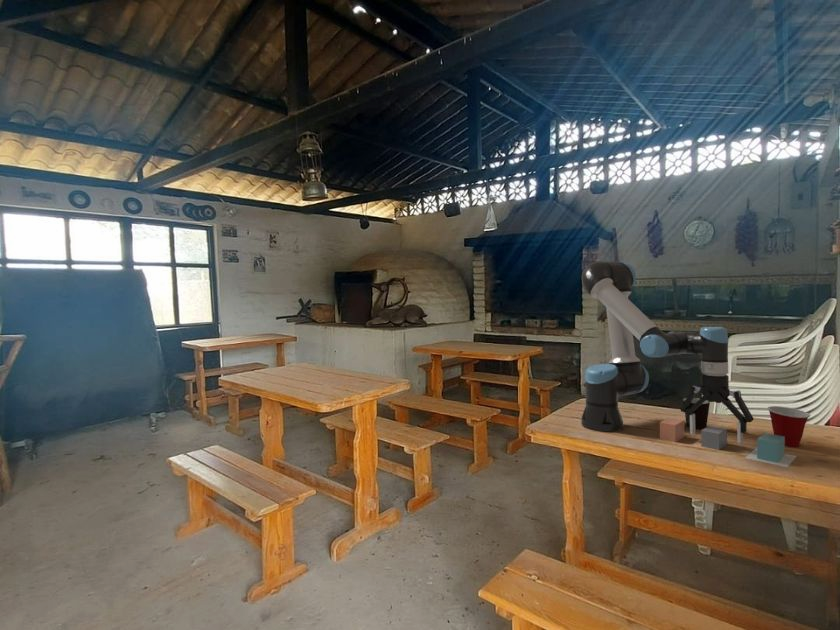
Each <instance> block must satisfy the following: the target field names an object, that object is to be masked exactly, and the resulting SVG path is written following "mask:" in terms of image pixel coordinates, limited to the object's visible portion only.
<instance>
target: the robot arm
mask: <svg viewBox="0 0 840 630" xmlns="http://www.w3.org/2000/svg"><path fill="white" fill-rule="evenodd" d="M636 274H637V273H636V271H635V269H634V267H633V266H632V265H631V264H629V263H627V262H624V261H621V260H620V261H617V260H616V261H615V260H614V261H594V262H591V263H589V264H588V265H586V266H585V268H584V269H583V270H582V274H581V282H582V286H583V288H584V289H585V291H586V292H587V294H589V296H591V298H593V299H597V300H598V301H600V303H601V304H602V305H604V307H605V309H606V318H607V325H608V332H609V333H608V334H609V340H610V341H609V342H610V350H611V357H612V358H611V359H610V360H609V361H608V363H600V364H593V365H591V366H589V367H587V368H586V369H585V376H584V381H585V385H584V386H585V387H584V388H585V406H584V409H583V411H582V415H581V421H580V422H581V423H580V424H581V425H582V427H583V428H586V429H589V430H594V431H598V432H599V431H600V432H615V431H620V430H622V429H623V428H624V420H623V417H622V414H621V412H620V410H619V409H620V408H619V397H623V396H629V395H637V394H638V393H642V392H643V391H644V390H645V389H646V388H647V387H648V385H649V381H650V375H649V372H648V370H647V369H646V367H645V366H644V365H642V364H641V359H640V358H639V357H637V356H636V350H635V349H636V348H635V343H634V337H635V338H636V339H637V340H638V341H639V347H640V349H641V352H642V354H643V355H645V356H646V357H647V358H663V357H667V356H668V357H669V356H675V355H676V356H677V355H682V354H683V355H685V354H687V355H688V354H690V355H700V370H701V371H700V372H701V374H700V379H701V380H700V385H701V386H700V387H699V386H697V385H692V386H690V389H689V394H688V396H687V397H686V398H687V399H686V400H685V402H684V403H683V404H682V405H681V408H680V412H683V413H684V414H685V413H686V414H687V423H689V424H690V428H689V434H690V435H694V434H695V433H696V429H695V414H692V413H693V412H694V411H695V410H696V409H697V408H698V407H699V406H700V405H701V404H702V403H704V402H705V401H706V400H707V401H709V402H710V403H716V404H721V403H722V404H723V406H725V407H726V408H727V409H728V410H729V411H730V413H732V415H734V417H735V418H736V419H737V420H738V422H737V423H736V425H737V429H736V430H737V431H736V437H737V439H736V440H737V444H742V443H743V442H744V434H745V433H746V432H747V428H748V427H747V423H752V422H753V421H754V420H755V418H754V417H753V415H752V414H751V411H750V409H749V408H748V406H747V404H746V403H745V401H744V400H743V398H742V392H741V390H740V389H739V390H732V391H731V390H730V387H729V385H730V384H729V383H730V381H729V380H730V378H729V375H728V374H730V373H729V337H728V336H729V335H728V330H727V328H725V327H724V326H723V327H722V326H702V327H701V328H700V330H699V332H693V331H682V330H676V331H675V330H674V331H673V330H672V331H669V332H667V333H665V332H664V331H662V330H661V329H660V328H659V327H658V326H657V324H655V323H654V322H653V321H652V320H651V319H650V318H649V317H648V316H647V315H646V314H645V313H643V312H642V310H640V308H638V307H637V306H636V305H635V304H634V303H633V302H632V301H631V300H630V299H629V296H630V295H631V294H632V288H633V287H634V286H635V283H636V280H637V275H636ZM699 392H700V394H701V395H702V396H701V397H700V398H699V400H698V401H697V402H696V403H695V404H694V405H693V406H692V407H691V408H690V409H687V408H688V407H689V405H690V403H691V402H692V400H693V398H695V397H696V394H699ZM729 396H732V398H733V399H734V400H735V402H736V405H737V406H738V407H739V409H740V410H739V409H738V408H737V406H735V405H734V404H733V403H732V401H731V399H730V398H729ZM740 411H741V412H740Z"/></svg>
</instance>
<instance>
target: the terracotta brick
mask: <svg viewBox="0 0 840 630" xmlns="http://www.w3.org/2000/svg"><path fill="white" fill-rule="evenodd" d="M684 437H685V420H684V419H679V418H673V417H667V418H665V419H664V420H663V419H662V420H661V421H660V422H659V439H660V440H665V441H668V442H669V441H670V442H674V443H677V442H678V441H680V440H681V439H683V438H684Z"/></svg>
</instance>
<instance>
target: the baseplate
mask: <svg viewBox="0 0 840 630" xmlns="http://www.w3.org/2000/svg"><path fill="white" fill-rule="evenodd" d="M796 457H797V456H796V455H791V454H787V453H784V457H783V458H782V459H781V460H780V461H779V462H778V463H776V462H771V461H767V460H762V459H758V458H757V447H756V448H755V449H753V450H752V452H750V453H749V454H748V455H747V456H745V459H748V460H751V461H752V460H753V461H757V462H761V463H765V464H771V465H774V466H778V467H783V468H788V467H789V466H790V464H792V462H793V461H794V460H795V459H796Z"/></svg>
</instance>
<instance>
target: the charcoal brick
mask: <svg viewBox="0 0 840 630" xmlns="http://www.w3.org/2000/svg"><path fill="white" fill-rule="evenodd" d="M700 430H701V431H700V433H701V434H700V435H701V437H700V438H701V441H700V442H701V443H700V444H701V447H704V448H709V449H713V450H715V451H720V450H721V449H722V448H724V447H725V446H727V445H728V427H722V426H716V425H712V424H710V425H707V427H706V428H705V429H700Z"/></svg>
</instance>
